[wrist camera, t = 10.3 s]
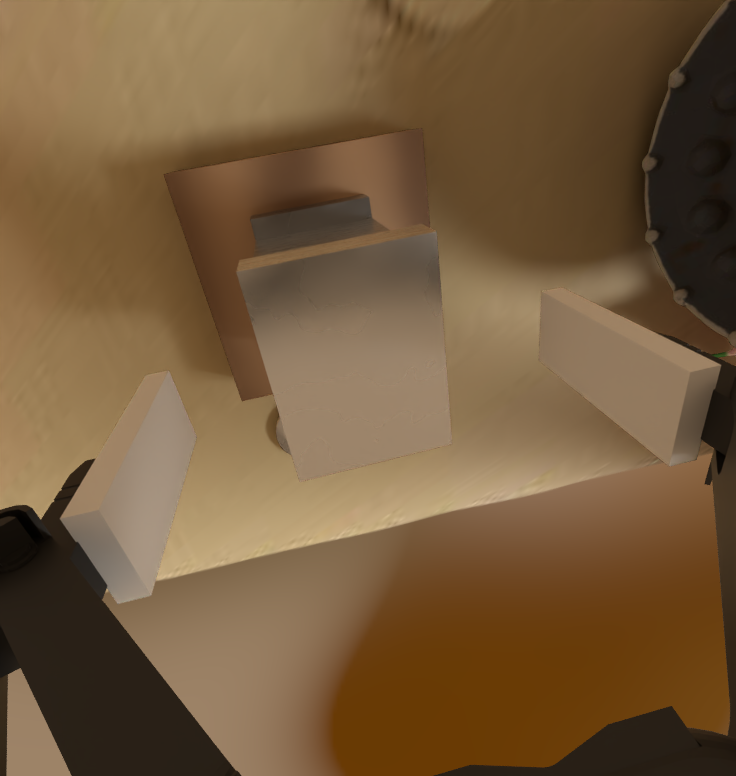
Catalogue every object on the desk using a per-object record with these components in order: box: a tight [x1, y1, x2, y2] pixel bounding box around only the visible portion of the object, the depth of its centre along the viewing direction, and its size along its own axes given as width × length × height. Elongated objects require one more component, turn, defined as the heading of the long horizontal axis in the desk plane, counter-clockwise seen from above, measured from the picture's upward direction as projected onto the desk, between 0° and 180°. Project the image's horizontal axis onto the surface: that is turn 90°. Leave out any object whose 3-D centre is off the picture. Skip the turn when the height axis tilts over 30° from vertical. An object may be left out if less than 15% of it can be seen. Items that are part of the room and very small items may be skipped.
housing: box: [236, 194, 452, 482], centre depth 20 cm, size 6×8×12 cm
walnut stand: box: [164, 128, 430, 401], centre depth 27 cm, size 13×13×3 cm
